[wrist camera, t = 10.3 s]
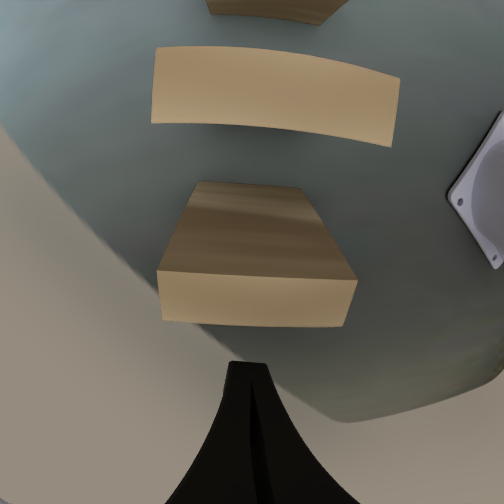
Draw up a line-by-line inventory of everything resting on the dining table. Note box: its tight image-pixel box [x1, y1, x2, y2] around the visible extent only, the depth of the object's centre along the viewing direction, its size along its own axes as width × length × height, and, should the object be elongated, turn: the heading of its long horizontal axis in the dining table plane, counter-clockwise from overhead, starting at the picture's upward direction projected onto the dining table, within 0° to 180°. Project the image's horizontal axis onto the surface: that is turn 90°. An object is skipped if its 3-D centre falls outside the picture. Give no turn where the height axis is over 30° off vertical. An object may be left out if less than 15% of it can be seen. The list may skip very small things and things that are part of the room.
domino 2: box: [151, 46, 400, 147], centre depth 8 cm, size 2×5×8 cm, turn 85°
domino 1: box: [157, 181, 358, 327], centre depth 11 cm, size 2×5×8 cm, turn 85°
